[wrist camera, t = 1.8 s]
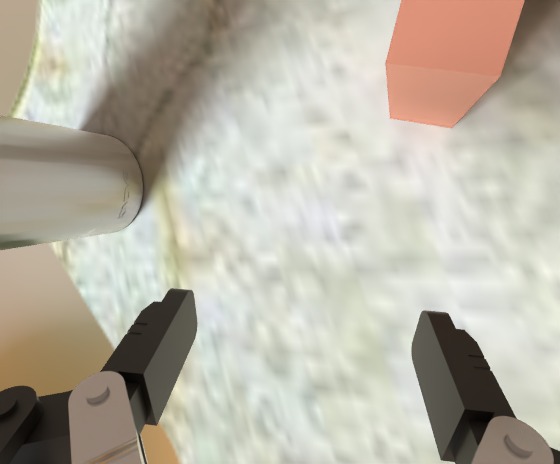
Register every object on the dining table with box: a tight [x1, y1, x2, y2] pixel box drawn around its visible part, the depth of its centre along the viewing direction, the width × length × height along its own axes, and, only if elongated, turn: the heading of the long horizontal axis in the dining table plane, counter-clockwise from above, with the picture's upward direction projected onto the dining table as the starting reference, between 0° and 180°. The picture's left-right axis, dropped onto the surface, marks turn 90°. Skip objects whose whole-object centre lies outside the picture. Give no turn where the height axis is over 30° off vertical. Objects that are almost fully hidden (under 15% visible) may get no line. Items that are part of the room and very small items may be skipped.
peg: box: [386, 0, 525, 128], centre depth 17 cm, size 4×4×11 cm
